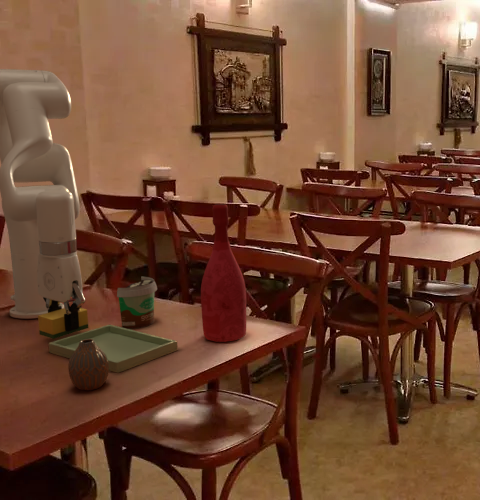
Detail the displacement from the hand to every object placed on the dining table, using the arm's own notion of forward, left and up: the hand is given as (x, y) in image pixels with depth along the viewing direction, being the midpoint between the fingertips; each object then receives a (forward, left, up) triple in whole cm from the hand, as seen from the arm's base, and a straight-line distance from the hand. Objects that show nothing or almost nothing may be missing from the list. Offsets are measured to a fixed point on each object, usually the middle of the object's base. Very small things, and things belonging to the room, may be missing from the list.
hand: (64, 326), depth 157 cm
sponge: (0, 0, -1) cm, 1 cm away
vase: (+29, -15, -3) cm, 33 cm away
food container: (+7, +17, -3) cm, 18 cm away
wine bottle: (+30, +20, -3) cm, 36 cm away
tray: (+17, 0, -3) cm, 17 cm away
